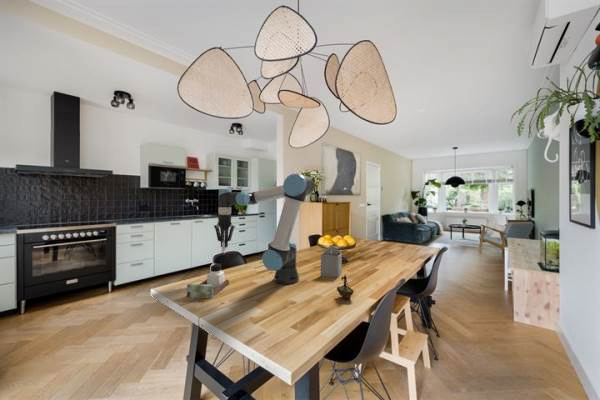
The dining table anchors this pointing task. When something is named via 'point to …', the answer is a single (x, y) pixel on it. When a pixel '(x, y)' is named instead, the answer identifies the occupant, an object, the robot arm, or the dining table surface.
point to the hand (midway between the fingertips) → (224, 252)
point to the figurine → (345, 289)
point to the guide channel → (204, 289)
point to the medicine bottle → (215, 275)
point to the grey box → (331, 262)
